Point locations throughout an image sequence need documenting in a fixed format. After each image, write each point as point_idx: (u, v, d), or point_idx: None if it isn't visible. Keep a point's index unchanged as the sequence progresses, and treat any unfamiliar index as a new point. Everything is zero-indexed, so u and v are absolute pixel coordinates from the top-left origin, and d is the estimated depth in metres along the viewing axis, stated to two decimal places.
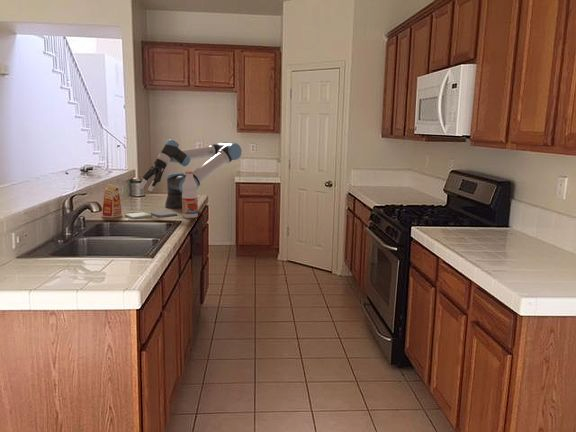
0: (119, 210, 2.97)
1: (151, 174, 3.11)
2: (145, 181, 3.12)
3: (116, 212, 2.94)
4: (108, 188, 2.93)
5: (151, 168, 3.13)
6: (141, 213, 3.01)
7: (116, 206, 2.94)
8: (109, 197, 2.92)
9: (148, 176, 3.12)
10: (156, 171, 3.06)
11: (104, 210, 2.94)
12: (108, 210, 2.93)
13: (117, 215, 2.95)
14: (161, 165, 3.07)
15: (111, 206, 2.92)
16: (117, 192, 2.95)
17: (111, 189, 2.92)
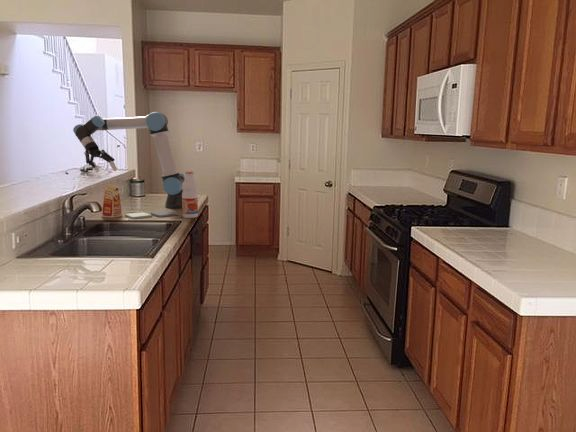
0: (119, 210, 2.97)
1: (103, 157, 3.09)
2: (111, 163, 3.10)
3: (116, 212, 2.94)
4: (108, 188, 2.93)
5: None
6: (141, 213, 3.01)
7: (116, 206, 2.94)
8: (109, 197, 2.92)
9: (106, 159, 3.10)
10: None
11: (104, 210, 2.94)
12: (108, 210, 2.93)
13: (117, 215, 2.95)
14: (87, 149, 3.05)
15: (111, 206, 2.92)
16: (117, 192, 2.95)
17: (111, 189, 2.92)
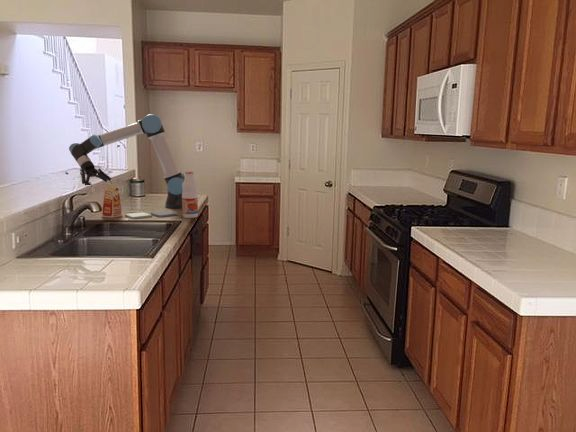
0: (119, 210, 2.97)
1: (99, 176, 3.02)
2: (107, 182, 3.03)
3: (116, 212, 2.94)
4: (108, 188, 2.93)
5: None
6: (141, 213, 3.01)
7: (116, 206, 2.94)
8: (109, 197, 2.92)
9: (102, 178, 3.03)
10: (87, 176, 2.97)
11: (104, 210, 2.94)
12: (108, 210, 2.93)
13: (117, 215, 2.95)
14: (83, 169, 2.98)
15: (111, 206, 2.92)
16: (117, 192, 2.95)
17: (111, 189, 2.92)
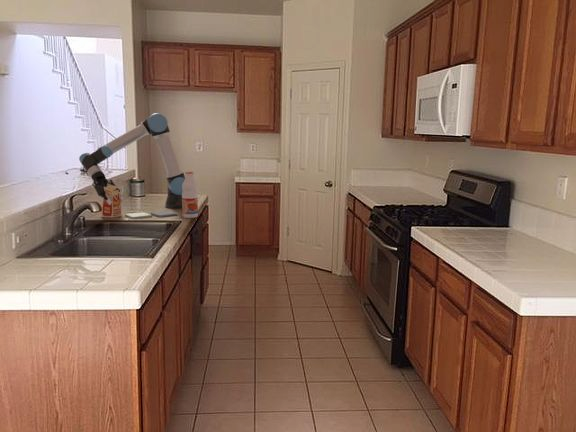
0: (119, 210, 2.97)
1: None
2: None
3: (116, 212, 2.94)
4: (108, 188, 2.92)
5: None
6: (141, 213, 3.01)
7: (116, 206, 2.94)
8: None
9: None
10: (99, 187, 2.95)
11: (104, 210, 2.94)
12: (107, 210, 2.93)
13: (117, 215, 2.95)
14: (94, 179, 2.96)
15: (111, 206, 2.92)
16: (117, 192, 2.95)
17: (111, 189, 2.92)
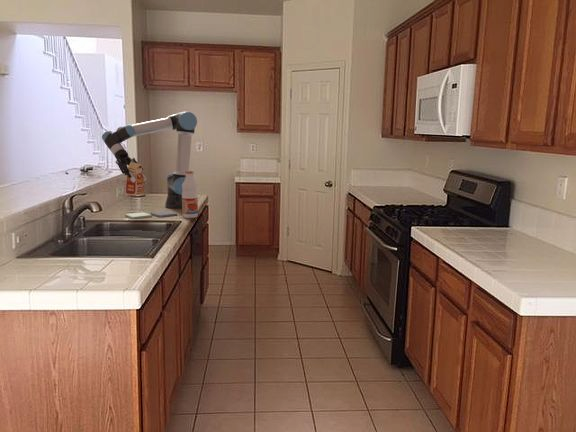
0: (142, 188, 2.95)
1: None
2: None
3: (139, 190, 2.92)
4: (131, 166, 2.90)
5: None
6: (141, 213, 3.01)
7: (139, 184, 2.92)
8: (132, 174, 2.90)
9: None
10: (122, 165, 2.93)
11: (127, 188, 2.91)
12: (131, 188, 2.90)
13: (140, 193, 2.93)
14: (117, 157, 2.93)
15: (134, 184, 2.89)
16: (140, 170, 2.93)
17: (134, 167, 2.90)
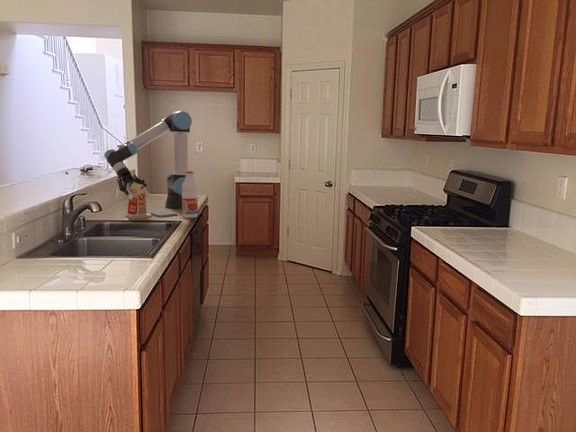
0: (144, 208, 2.97)
1: (135, 182, 3.00)
2: None
3: (141, 210, 2.94)
4: (133, 186, 2.93)
5: (133, 179, 3.03)
6: None
7: (141, 204, 2.94)
8: (134, 195, 2.92)
9: None
10: (123, 182, 2.95)
11: (129, 208, 2.94)
12: (133, 208, 2.93)
13: (142, 213, 2.95)
14: (119, 175, 2.95)
15: (136, 204, 2.92)
16: (142, 190, 2.95)
17: (136, 187, 2.92)
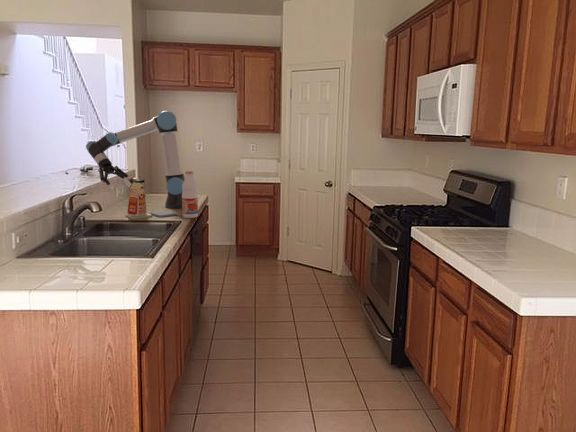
0: (144, 208, 2.97)
1: (116, 173, 3.06)
2: (125, 179, 3.07)
3: (141, 210, 2.94)
4: (133, 186, 2.93)
5: None
6: None
7: (141, 204, 2.94)
8: (134, 195, 2.92)
9: (120, 175, 3.07)
10: None
11: (129, 208, 2.94)
12: (133, 208, 2.93)
13: (142, 213, 2.95)
14: (100, 166, 3.01)
15: (136, 204, 2.92)
16: (142, 190, 2.95)
17: (136, 187, 2.92)
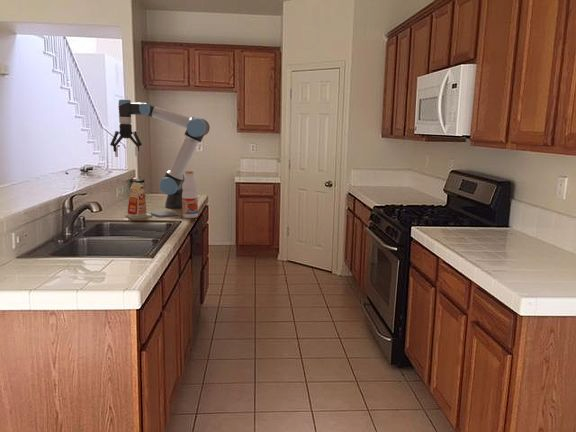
0: (144, 208, 2.97)
1: (131, 139, 3.19)
2: (136, 147, 3.22)
3: (141, 210, 2.94)
4: (133, 186, 2.93)
5: (133, 134, 3.21)
6: None
7: (141, 204, 2.94)
8: (134, 195, 2.92)
9: (133, 142, 3.21)
10: None
11: (129, 208, 2.94)
12: (133, 208, 2.93)
13: (142, 213, 2.95)
14: None
15: (136, 204, 2.92)
16: (142, 190, 2.95)
17: (136, 187, 2.92)
